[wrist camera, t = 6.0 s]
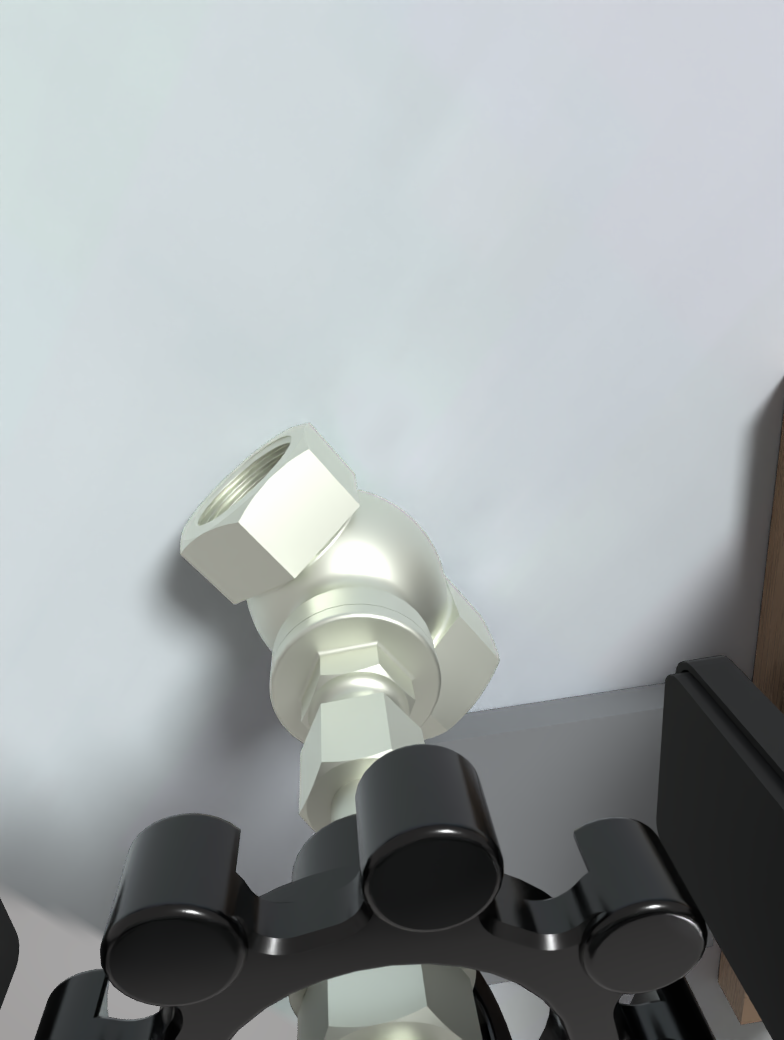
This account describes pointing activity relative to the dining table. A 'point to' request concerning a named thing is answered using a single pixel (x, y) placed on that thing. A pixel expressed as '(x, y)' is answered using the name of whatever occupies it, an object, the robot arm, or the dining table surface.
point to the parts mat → (562, 776)
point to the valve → (374, 817)
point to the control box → (765, 684)
